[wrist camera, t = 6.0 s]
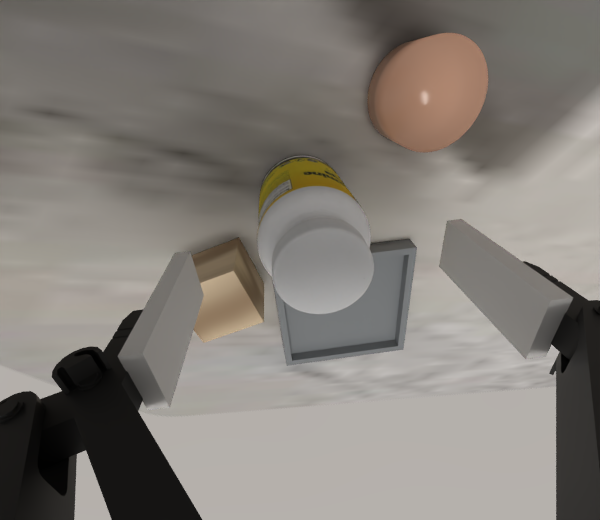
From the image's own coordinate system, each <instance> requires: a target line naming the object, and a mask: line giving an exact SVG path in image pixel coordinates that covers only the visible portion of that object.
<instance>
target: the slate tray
mask: <svg viewBox="0 0 600 520" xmlns="http://www.w3.org/2000/svg"><path fill="white" fill-rule="evenodd" d="M369 249H370V251H371V253H372V256H373V261H374V273H373V277H372V280H371V283H370V285H369V287H368V288H367V290H366V291H365V293H364V294H363V295H362V296H361V297H360V298H359V299H358V300H357V301H355V302H354V303H353V304H351V305H350V306H348V307H346V308H344V309H342V310H339V311H336V312H332V313H327V314H311V313H305V312H302V311H299V310H297V309H294V308H293V307H291V306H289V305H288V304H287V303H286V302H284V301H283V300H282V299H281V297H280V296H279V294H278V293H277V291H276V289H275V287H274V290H275V297H276V303H277V309H278V315H279V321H280V327H281V333H282V340H283V346H284V352H285V358H286V364H287V366H288V365H295V364H302V363H309V362H317V361H324V360H331V359H338V358H345V357H353V356H360V355H367V354H374V353H381V352H389V351H396V350H403V348H404V340H405V333H406V325H407V318H408V310H409V303H410V295H411V288H412V280H413V273H414V265H415V258H416V250H417V247H416V246H415V245H414V244H413V242H412V241H411V240H410V239H405V240H397V241H389V242H381V243H373V244H370V248H369Z"/></svg>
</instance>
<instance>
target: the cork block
mask: <svg viewBox="0 0 600 520" xmlns="http://www.w3.org/2000/svg"><path fill="white" fill-rule="evenodd" d="M192 259H193V262H194V265H195V268H196V272H197V275H198V278H199V281H200V285H201V288H202V291H203V294H204V297H203V300H202V303H201V307H200V310H199V313H198V316H197V320H196V323H195V326H194V329H193V330H194V331H195V332H196V334H197V335H198V336H199V337H200V339H201V340H202V341H203V343H205V342H207V341H210V340H213V339H216V338H219V337H222V336H225V335H228V334H230V333H233V332H236V331H239V330H242V329H245V328H248V327H251V326H253V325H256V324H259V323H262V322H264V283H263V281H262V279H261V277H260V275H259V274H258V272H257V270H256V268H255V266H254V264H253V262H252V261H251V259H250V257H249V255H248V253H247V251H246V250H245V248H244V246H243V244H242V242H241V240H240V238H236V239H234V240H231V241H228V242H226V243H223V244H221V245H218V246H215V247H213V248H210V249H207V250H205V251H202V252H200V253H197V254H194V255H192Z"/></svg>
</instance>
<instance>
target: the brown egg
mask: <svg viewBox="0 0 600 520" xmlns="http://www.w3.org/2000/svg"><path fill="white" fill-rule="evenodd" d="M487 87H488V69H487V65H486V61H485V58H484V55H483V54H482V52H481V50H480V49H479V47H478V46H477V45H476V44H475V43H474V42H473V41H472V40H471V39H469V38H467V37H465V36H463V35H460V34H456V33H442V34H436V35H432V36H428V37H424V38H420V39H416V40H412V41H409V42H406V43H403V44H401V45H399V46H398V47H396V48H395V49H393V50H392V51H391V52H390V53H389V54H387V55H386V56H385V58H384V59H383V60H382V61H381V63H380V64H379V65H378V67H377V69H376V70H375V72H374V74H373V77H372V79H371V82H370V85H369V90H368V99H367V102H368V112H369V116H370V119H371V121H372V123H373V125H374V127H375V128H376V129H377V131H378V132H379V133H380V134H381V135H382V136H384V137H386V138H387V139H389V140H391V141H393V142H395V143H397V144H399V145H401V146H403V147H405V148H407V149H409V150H412V151H416V152H432V151H437V150H440V149H442V148H445V147H447V146H449V145H450V144H452V143H454V142H455V141H456V140H458V139H459V138H460V137H461V136H462V135H463V134H464V133H465V132H466V131H467V130H468V129H469V128H470V127H471V125H472V124H473V123H474V121H475V120H476V118H477V116H478V115H479V113H480V111H481V108H482V106H483V103H484V101H485V97H486V93H487Z"/></svg>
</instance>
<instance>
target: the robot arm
mask: <svg viewBox="0 0 600 520" xmlns="http://www.w3.org/2000/svg"><path fill="white" fill-rule="evenodd" d="M439 267H440V268H441V269H442V270H443V271H444V272H445V273H446V274H447V275H448V276H449V277H450V278H451V280H452V281H453V282H454V283H455V284H456V285H457V286H458V287H459V288H460V289H461V290H462V291H463V292H464V293H465V295H466V296H467V297H468V298H469V299H470V300H471V301H472V302H473V303H474V304H475V305H476V306H477V307H478V308H479V310H480V311H481V312H482V313H483V314H484V315H485V316H486V317H487V318H488V319H489V320H490V321H491V322H492V323H493V325H494V326H495V327H496V328H497V329H498V330H499V331H500V332H501V333H502V334H503V335H504V336H505V337H506V338H507V340H508V341H509V342H510V343H511V344H512V345H513V346H514V347H515V348H516V349H517V350H518V351H519V352H520V353H521V355H522V356H523V357H524V358H525V359H531V358H539V357H546V355H547V353H548V351H549V349H550V347H551V344H552V345H553V346H554V347H555V348H556V349H557V350H558V351H560V352H559V354H558V356H557V358H556V360H555V363H554V365H553V367H552V369H551V371H550V373H549V374H552V375H553V374H554V372H555V371H556V422H557V423H556V452H557V453H556V459H557V460H556V461H557V462H556V472H557V473H556V485H557V486H556V493H557V494H556V500H557V501H556V514H557V516H556V520H600V301H598V300H593V301H588V300H587V299H585V298H584V297H582V296H581V295H579V294H578V293H577V292H575V291H574V290H572V289H571V288H569V287H568V286H566V285H565V284H563V283H562V282H558V280H557V279H556V278H554V277H553V276H550V275H549V273H547V272H546V271H544V270H543V269H541V268H540V267H538V266H535V265H533V264H530V263H528V262H525V261H524V262H522V261H520V260H519V259H518V258H516V257H515V256H513V255H512V254H511V253H509V252H508V251H506V250H505V249H503V248H502V247H501V246H499V245H498V244H496V243H495V242H493V241H492V240H491V239H489V238H488V237H486V236H485V235H483V234H482V233H481V232H479V231H478V230H476V229H475V228H473V227H472V226H471V225H469V224H468V223H466V222H465V221H464V220H462V219H458V220H450V221H447V224H446V230H445V235H444V241H443V247H442V253H441V259H440V264H439ZM203 297H204V294H203V291H202V288H201V285H200V281H199V278H198V275H197V272H196V268H195V265H194V262H193V259H192V256H191V252H190V251H189V252H181V253H175V254H174V255H173V257H172V259H171V261H170V263H169V264H168V266H167V268H166V270H165V272H164V274H163V275H162V277H161V279H160V281H159V283H158V284H157V286H156V288H155V290H154V292H153V293H152V295H151V297H150V299H149V301H148V302H147V304H146V306H145V308H144V310H137V311H133V312H132V313H130V314H129V315H128V316H127V317H126V318H125V319H124V320H123V321H122V323H121V324H120V326H119V328H118V329H117V331H116V332H115V334H114V336H113V339H111V341H110V342H109V344H108V345H107V347H106V349H105V350H104V352H102V350H101V349H99V348H98V347H86V348H82V349H79V350H77V351H74V352H72V353H71V354H69V355H68V356H66V357H64V358H63V359H62V360H61V361H60V362H59V363H58V364H57V365H56V366H55V368H54V370H53V371H52V378H53V379H54V380H55V382H56V383H57V384H58V386H59V387H60V388H61V390H62V391H61V392H59V393H56V394H53V395H51V396H48V397H45V398H42V399H39V397H38V396H37V395H36V394H35V393H33V392H31V391H29V392H21V393H17V394H14V395H12V396H10V397H8V398H6V399H4V400H3V401H1V402H0V520H74V510H75V484H76V458H77V454H78V453H80V452H82V451H85V450H86V451H87V454H88V456H89V459H90V462H91V465H92V467H93V470H94V473H95V475H96V478H97V480H98V483H99V486H100V489H101V491H102V494H103V497H104V499H105V502H106V505H107V508H108V510H109V513H110V516H111V518H112V520H202V519H201V517H200V515H199V514H198V512H197V510H196V508H195V507H194V505H193V503H192V502H191V500H190V498H189V497H188V495H187V493H186V492H185V490H184V488H183V487H182V485H181V483H180V481H179V480H178V478H177V476H176V475H175V473H174V472H173V470H172V468H171V466H170V465H169V463H168V461H167V460H166V458H165V456H164V454H163V453H162V451H161V449H160V448H159V446H158V444H157V443H156V441H155V439H154V438H153V436H152V434H151V433H150V431H149V429H148V428H147V426H146V424H145V423H144V421H143V419H142V418H141V416H140V414H139V412H138V410H139V408H140V405H141V402H142V401H143V402H144V404H145V406H146V408H147V409H148V410H154V409H162V408H169V407H170V405H171V401H172V398H173V395H174V392H175V388H176V385H177V382H178V379H179V375H180V372H181V369H182V365H183V362H184V359H185V356H186V352H187V349H188V346H189V343H190V339H191V336H192V333H193V329H194V326H195V323H196V320H197V316H198V313H199V310H200V307H201V303H202V300H203Z"/></svg>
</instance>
